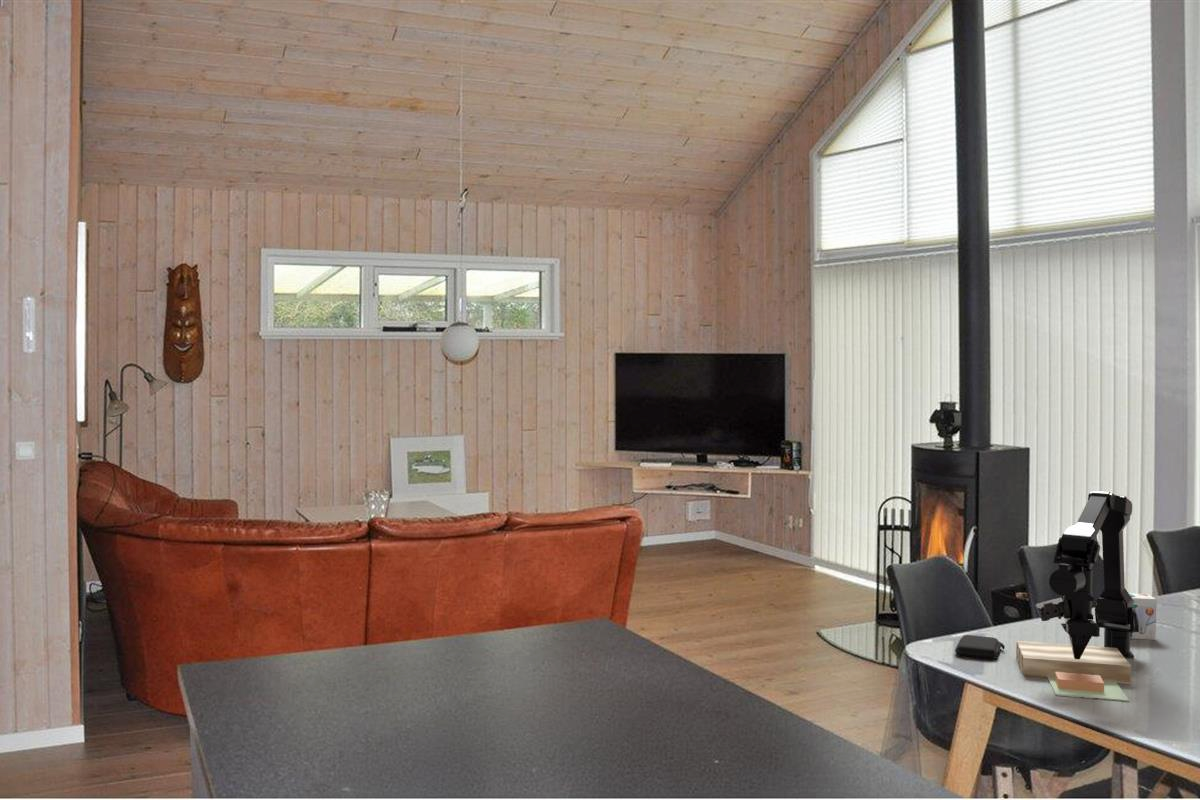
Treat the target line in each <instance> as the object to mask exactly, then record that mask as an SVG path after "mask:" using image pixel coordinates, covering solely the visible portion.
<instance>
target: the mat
mask: <svg viewBox="0 0 1200 800" xmlns="http://www.w3.org/2000/svg"><path fill="white" fill-rule="evenodd" d="M1046 678H1047V679H1048V681H1049V684H1050V686H1051V687H1052V690H1053V692H1054V694H1055V696H1060V697H1070V698H1081V697H1084V699H1092V698H1098V699H1097V700H1104V699H1106V701H1118V702H1126V703H1127V702H1130V700H1129V698H1128V697H1127V695H1126V694H1125V693H1124V691H1123V689H1122V688H1121V686H1119V683H1117V682H1116V681H1104V680H1103V682H1104V692H1094V691H1083V690H1072V689H1060V688H1058V687H1057V684H1056V682H1055V676H1047V677H1046Z"/></svg>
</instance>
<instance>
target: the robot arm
mask: <svg viewBox="0 0 1200 800" xmlns="http://www.w3.org/2000/svg"><path fill="white" fill-rule="evenodd" d="M1132 514H1133V503H1132V501H1131V499H1128V498H1127V495H1117V494H1115V493H1111V492H1110V491H1101V490H1100V491H1098V490H1094V491H1090V492H1089V493H1088V496H1087V502H1086V503H1085V506H1084V508H1083V509H1082V512H1081V514H1080V516H1079V517H1078V520H1077V522H1076V523H1075V524H1074V525H1071V526H1069V527H1067V528H1066V529H1065V530H1064V532H1063V533H1062V534H1061V536H1059V539H1058V542H1057V546H1056V550H1055V554H1054V558H1053V564H1057V565H1058V569H1057V570H1054V571H1053V572H1052V573H1051V574H1050V577H1049V578H1048V583H1049V586H1050V587H1049V588H1050V589H1051V590H1052V592H1054V593H1055V594H1057V595H1058V596H1060V597H1057V598H1053V599H1050V600H1046V601H1042V602H1039V603H1036V604H1035V608H1036V611H1037V613H1038V615H1039V618H1040V620H1041V622H1048V621H1050V620H1051V619H1055V618H1057V620H1062V618H1063V619H1064V623H1063V622H1062V623H1060V625H1061V626H1062V628H1063V630H1064V631H1065V632H1066V634H1067V635H1068V637H1069V641H1070V645H1071V646H1072V651H1073V656H1074V658H1075V659H1080V658H1081V656H1082V654H1083V652H1084V650H1085V648H1086V646H1088V644H1089V642H1090V640H1091V639H1092V637H1095V638H1096V637H1097V638H1099V637H1100V636H1101V635H1100V632H1101V630H1100V629H1101V628H1102V629H1103V630H1104V631H1103V647H1109V648H1117V649H1118V650H1119V651H1120V653H1121V654H1122V655H1123V656H1124V658H1135V655H1134V654H1133V652H1132V651H1131V638H1130V632H1131V633H1134V632H1139V619H1138V616H1137V613H1136V610H1135V608H1133V599H1132V597H1131V596H1130V595H1129V593H1130V592H1128V590H1127V589H1126V587H1125V585H1126V584H1125V582H1126V581H1125V558H1124V557H1125V556H1124V554H1125V553H1124V549H1125V548H1124V529H1125V528H1126V526H1127V524H1128V523H1129V522H1130V520H1131V515H1132ZM1099 532H1101V544H1102V545H1100V544H1099V540H1098V535H1099ZM1101 546H1102V548H1101ZM1101 549H1102V572H1103V573H1102V574H1103V575H1102V577H1103V578H1102V579H1103V580H1102V581H1103V590H1102V592H1101V593H1100V595H1099V596H1098V598H1097V599H1096V603H1095V606H1094V614H1093V608H1092V607H1093V602H1095V598H1094V595H1093V567H1094V564H1096V563H1097V560H1098V557H1099V554H1100V552H1101ZM1094 616H1095V617H1094ZM1094 618H1095V621H1094ZM1129 624H1130V626H1129Z"/></svg>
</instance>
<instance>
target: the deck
mask: <svg viewBox="0 0 1200 800" xmlns="http://www.w3.org/2000/svg"><path fill="white" fill-rule="evenodd" d="M1015 657H1016V660H1017V662H1018V665H1019V668H1020V670H1021V673H1022V675H1023V676H1027V677H1041V678H1047V676H1055V672H1065V673H1077V674H1088V675H1100V677H1101V678H1102V680H1104V681H1116V682H1117V684H1125V685H1132V684H1131V683H1132V665H1131V664H1130V663H1129V661H1128V660H1127V658H1126V657H1124V656H1123V655H1122V654H1121V653H1120V651H1119V650H1118V649H1117V648H1109V647H1104V646H1094V645H1087V646H1086V648H1085V650H1084V652H1083V654H1082V656H1081V658H1080V659H1075V658H1074V656H1073V651H1072V646H1071V644H1069V643H1068V644H1066V643H1065V644H1063V643H1053V642H1038V641H1024V640H1016V655H1015Z"/></svg>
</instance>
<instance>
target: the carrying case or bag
mask: <svg viewBox="0 0 1200 800" xmlns="http://www.w3.org/2000/svg"><path fill="white" fill-rule="evenodd" d="M1001 648H1002V650H1005V649H1006V648H1005V645H1004V643H1002V642H1001V641H999V640H998V639H997V638H996V637H991V636H980V635H972V634H965V635H963V636H962V637H961V638H960V639H959V641H958V643H957V645H956V647H955V649H954V650H955V651H954V652H955V654H957V656H958V657H959V658H965V659H967V658H968V659H976V660H977V659H978V660H985V661H994V660H995V659H997V658H998V656H999V653H1000V651H1001Z"/></svg>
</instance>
